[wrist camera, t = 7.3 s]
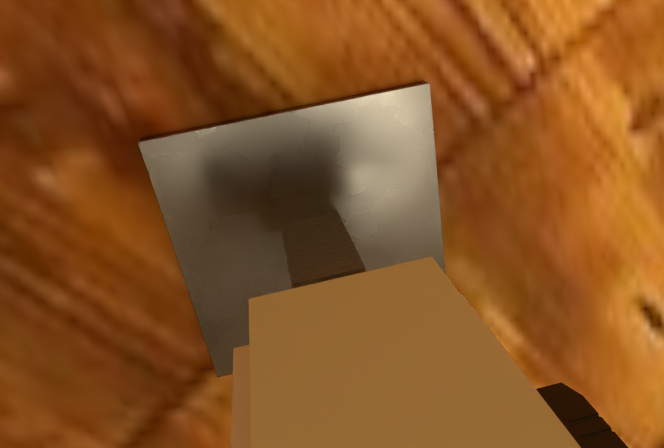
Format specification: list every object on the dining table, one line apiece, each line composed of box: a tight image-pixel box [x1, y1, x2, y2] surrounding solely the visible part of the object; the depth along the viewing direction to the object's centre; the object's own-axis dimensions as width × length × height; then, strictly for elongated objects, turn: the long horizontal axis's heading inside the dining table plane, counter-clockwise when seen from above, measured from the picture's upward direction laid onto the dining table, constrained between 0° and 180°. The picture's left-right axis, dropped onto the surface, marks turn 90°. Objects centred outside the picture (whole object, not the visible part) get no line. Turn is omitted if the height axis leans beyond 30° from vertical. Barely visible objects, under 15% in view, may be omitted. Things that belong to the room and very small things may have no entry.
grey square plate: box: [138, 82, 445, 377], centre depth 20 cm, size 12×12×6 cm
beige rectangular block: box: [249, 257, 577, 448], centre depth 12 cm, size 5×5×7 cm
